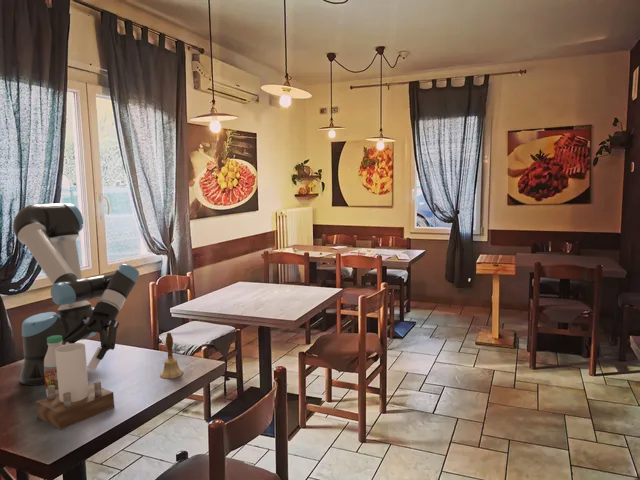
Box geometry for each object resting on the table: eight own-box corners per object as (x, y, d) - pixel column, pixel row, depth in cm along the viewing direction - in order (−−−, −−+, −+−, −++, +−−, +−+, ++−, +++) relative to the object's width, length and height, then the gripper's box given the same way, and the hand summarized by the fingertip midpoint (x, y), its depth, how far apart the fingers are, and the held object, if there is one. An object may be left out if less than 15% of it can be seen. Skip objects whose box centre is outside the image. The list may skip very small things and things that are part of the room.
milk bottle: (48, 390, 168) (43, 334, 166) (73, 387, 171) (68, 332, 168) (44, 399, 161) (39, 341, 158) (70, 395, 163) (65, 338, 161)
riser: (37, 416, 149) (34, 388, 148) (90, 396, 162) (88, 371, 161) (60, 429, 141) (57, 400, 140) (114, 407, 154) (112, 380, 153)
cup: (78, 403, 146) (74, 352, 144) (53, 402, 147) (49, 351, 145) (94, 391, 154) (90, 343, 153) (70, 390, 155) (66, 342, 154)
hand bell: (155, 377, 178) (152, 335, 176) (167, 369, 186) (165, 329, 184) (175, 379, 176) (173, 337, 174) (187, 371, 184) (185, 330, 182)
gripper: (144, 315, 160) (112, 376, 148) (88, 308, 169) (54, 365, 157) (131, 303, 154) (97, 365, 142) (74, 297, 163) (37, 355, 152)
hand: (74, 365), depth 150 cm, fingers open, 13 cm apart
